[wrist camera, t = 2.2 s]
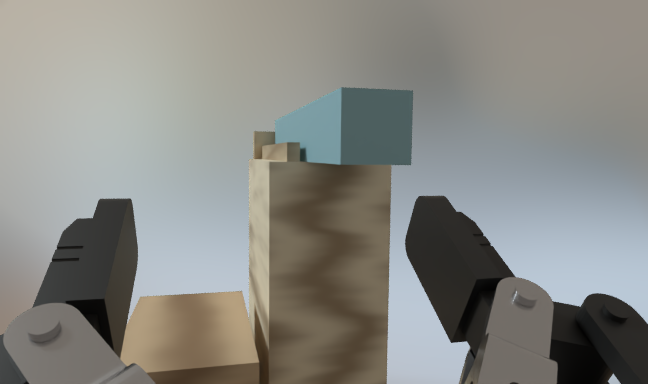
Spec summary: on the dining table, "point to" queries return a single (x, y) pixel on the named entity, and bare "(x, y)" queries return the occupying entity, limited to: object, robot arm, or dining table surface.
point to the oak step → (192, 339)
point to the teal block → (352, 127)
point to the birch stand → (317, 267)
